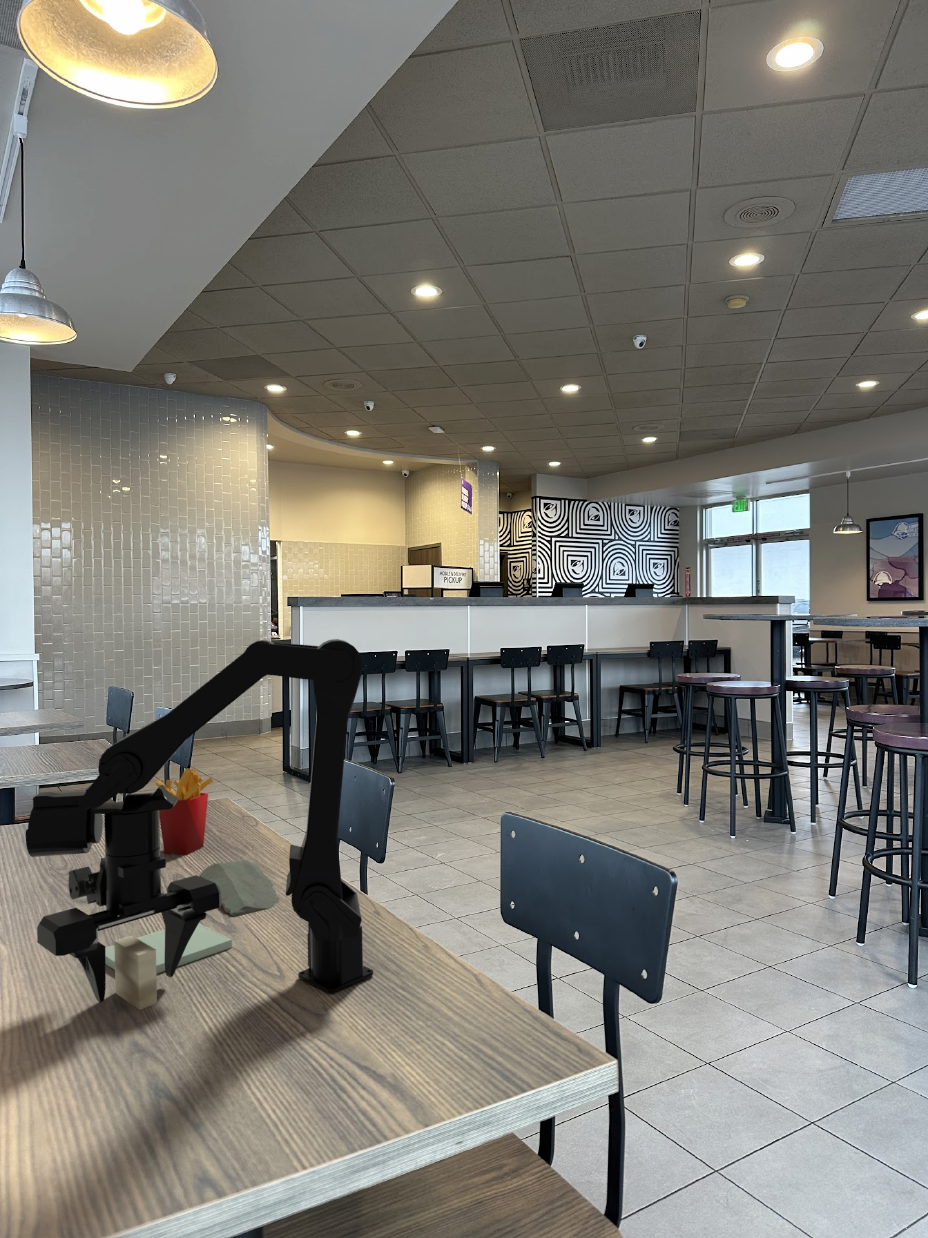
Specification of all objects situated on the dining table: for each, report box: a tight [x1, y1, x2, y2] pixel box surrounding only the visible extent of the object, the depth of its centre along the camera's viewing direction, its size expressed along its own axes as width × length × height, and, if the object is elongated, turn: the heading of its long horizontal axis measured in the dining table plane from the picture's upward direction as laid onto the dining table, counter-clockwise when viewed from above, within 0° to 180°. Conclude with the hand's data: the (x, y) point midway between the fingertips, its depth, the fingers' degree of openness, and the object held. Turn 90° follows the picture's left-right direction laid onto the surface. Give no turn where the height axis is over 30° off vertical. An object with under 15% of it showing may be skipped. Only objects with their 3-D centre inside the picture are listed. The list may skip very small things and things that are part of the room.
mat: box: [105, 923, 233, 975], centre depth 103 cm, size 10×13×1 cm
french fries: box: [155, 767, 214, 856], centre depth 149 cm, size 9×8×15 cm
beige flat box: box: [113, 935, 158, 1011], centre depth 91 cm, size 6×2×6 cm, turn 47°
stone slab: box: [199, 860, 280, 917], centre depth 127 cm, size 22×3×10 cm
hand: (135, 988), depth 91 cm, fingers open, 8 cm apart
